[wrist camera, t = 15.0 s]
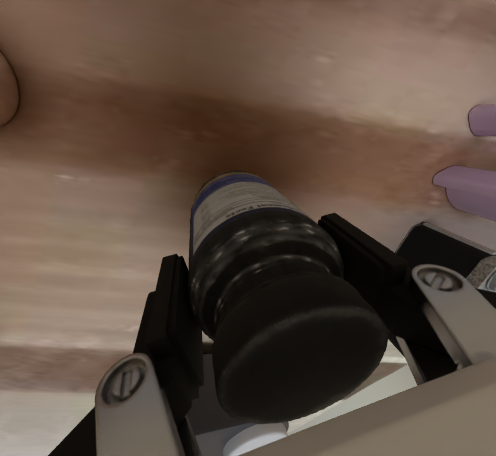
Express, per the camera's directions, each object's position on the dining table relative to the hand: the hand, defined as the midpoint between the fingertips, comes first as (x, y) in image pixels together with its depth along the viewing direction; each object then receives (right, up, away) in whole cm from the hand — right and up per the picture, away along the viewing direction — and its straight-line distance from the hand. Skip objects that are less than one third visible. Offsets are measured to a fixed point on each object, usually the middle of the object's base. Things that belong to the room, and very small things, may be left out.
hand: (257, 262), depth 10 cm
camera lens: (-1, +3, +5) cm, 6 cm away
